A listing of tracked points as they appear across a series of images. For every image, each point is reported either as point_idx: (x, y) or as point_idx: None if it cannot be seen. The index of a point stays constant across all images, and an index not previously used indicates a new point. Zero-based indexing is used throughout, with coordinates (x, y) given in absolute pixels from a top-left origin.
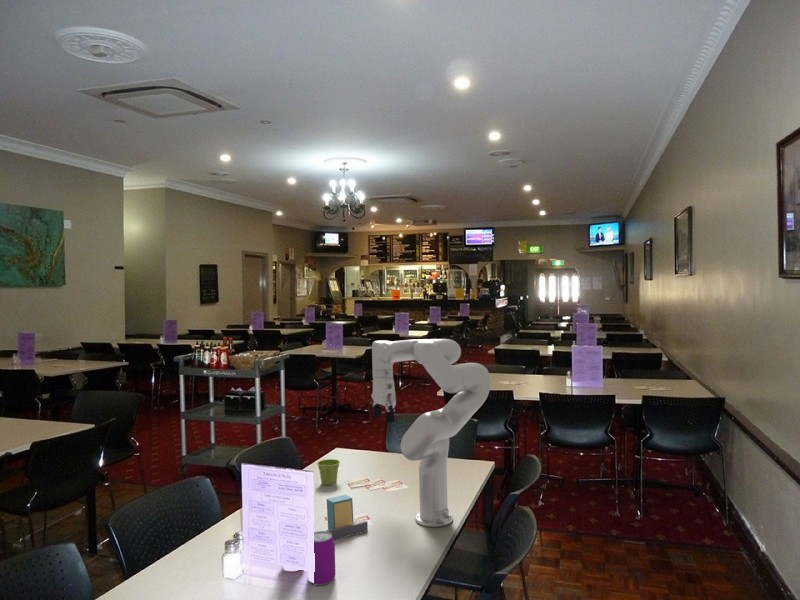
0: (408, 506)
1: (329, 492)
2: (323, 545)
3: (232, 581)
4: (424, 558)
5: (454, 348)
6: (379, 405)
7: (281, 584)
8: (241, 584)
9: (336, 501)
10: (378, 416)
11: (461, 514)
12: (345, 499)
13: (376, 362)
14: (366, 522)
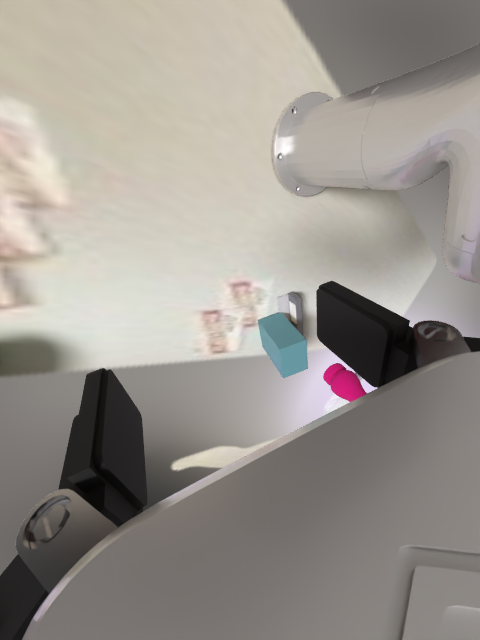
0: (213, 179)
1: (64, 355)
2: None
3: (328, 411)
4: (399, 228)
5: None
6: (103, 503)
7: None
8: (336, 404)
9: (307, 363)
10: (126, 395)
11: (312, 47)
12: (306, 350)
13: None
14: (300, 299)
